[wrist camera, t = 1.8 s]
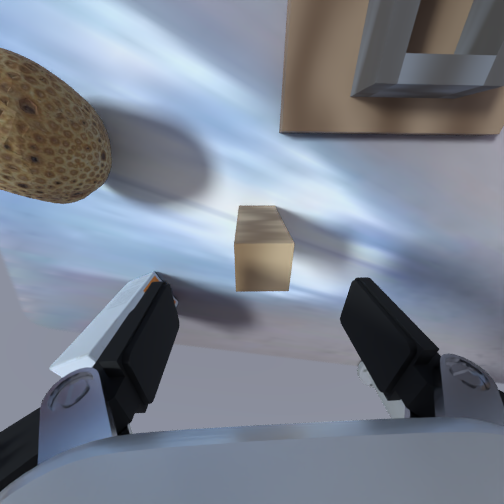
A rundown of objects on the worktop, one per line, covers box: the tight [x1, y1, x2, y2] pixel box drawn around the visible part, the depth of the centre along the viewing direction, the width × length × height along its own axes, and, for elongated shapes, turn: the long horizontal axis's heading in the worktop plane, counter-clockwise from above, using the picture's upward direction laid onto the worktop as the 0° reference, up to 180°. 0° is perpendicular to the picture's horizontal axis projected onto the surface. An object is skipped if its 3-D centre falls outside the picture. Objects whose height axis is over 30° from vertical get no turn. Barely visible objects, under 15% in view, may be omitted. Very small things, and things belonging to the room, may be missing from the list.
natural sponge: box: [0, 48, 112, 204], centre depth 14 cm, size 9×9×10 cm
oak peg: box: [234, 206, 295, 292], centre depth 18 cm, size 4×4×10 cm
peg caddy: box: [279, 0, 504, 135], centre depth 13 cm, size 20×14×5 cm
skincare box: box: [50, 272, 178, 378], centre depth 21 cm, size 6×4×12 cm
